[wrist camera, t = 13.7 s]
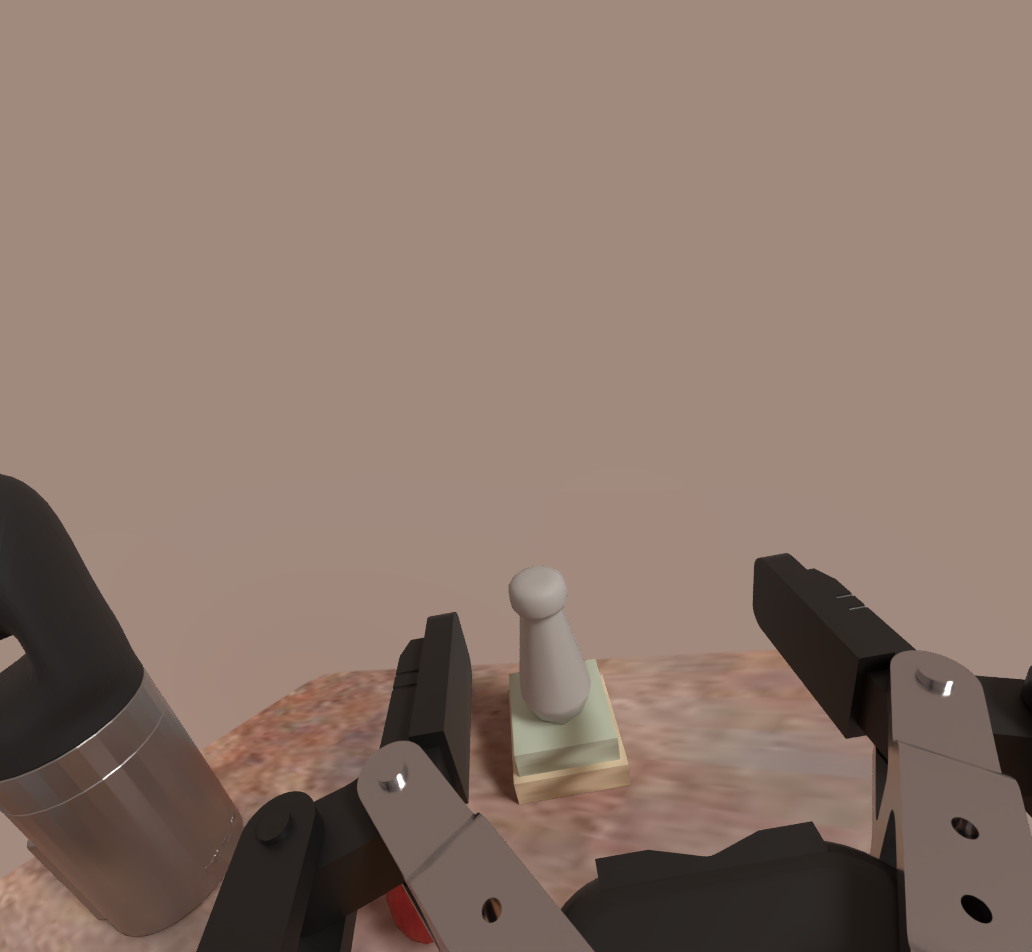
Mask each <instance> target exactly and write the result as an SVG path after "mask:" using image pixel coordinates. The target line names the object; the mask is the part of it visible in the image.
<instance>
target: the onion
mask: <svg viewBox="0 0 1032 952" xmlns="http://www.w3.org/2000/svg"><path fill="white" fill-rule="evenodd" d="M386 895H387V902H388V905H389V908H390V911H391V914H392V917H393V920H394V923H395V924H396V925H397V926H398V927H399V929H400V930H401V931H402V932H403V933H404V934H405V935H406V936H407V937H408V938H409V939H410V940H413V941H416V942H420V943H424V944H429V943H432V942H434V941H433V940H432V938H431V936H430V934H429V932H428V931H427V929H426V927H425V925H424V923H423V922H422V920H421V918H420V916H419V914H418V913H417V911H416V909H415V907H414V905H413V904H412V902H411V900H410V898H409V896H408V895H407V893H406V891H405V889H404V887H403V886H402V884H401V885H399V886H397V887H396V888H394V889H392V890H391V891H389V892H387V893H386Z"/></svg>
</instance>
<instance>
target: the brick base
mask: <svg viewBox="0 0 1032 952" xmlns="http://www.w3.org/2000/svg"><path fill="white" fill-rule="evenodd" d="M584 662H585V664H586V667H587V670H588V673H589V676H590V680H591V686H590V690H589V694H588V698H587V701H586V703H585V705H584V708H583V710H582V712H581V713H580V714H578V715H577V716H575V717H574V718H573V719H571V720H570V721H568V722H567V723H566V724H564V725H562V724H557V723H552V722H546V721H542V720H541V719H540V718H539V717H538V716H537V715H536V714H535V713H534V712H533V711H532V710H531V708H530V707H529V706H528V705H527V703H526V702H525V701H524V700H523V697H522V695H521V689H520V672H518V673H513V674H509V679H510V690H508V692H509V709H510V726H511V743H512V760H513V778H514V787H515V790H516V794H517V798H518V802H519V805H520V804H525V803H531V802H537V801H542V800H548V799H554V798H559V797H565V796H571V795H577V794H582V793H588V792H594V791H599V790H605V789H611V788H616V787H622V786H628V785H631V782H630V773H629V764H628V761H627V757H626V754H625V751H624V747H623V744H622V740H621V737H620V733H619V730H618V727H617V723H616V720H615V716H614V713H613V710H612V706H611V703H610V699H609V696H608V692H607V689H606V686H605V682H604V679H603V675H602V674H599V670H598V667H597V663H596V660H595V659H591V660H585V661H584Z"/></svg>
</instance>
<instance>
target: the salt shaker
mask: <svg viewBox="0 0 1032 952" xmlns="http://www.w3.org/2000/svg"><path fill="white" fill-rule="evenodd" d="M509 597H510V602H511V605H512V608H513V609H514V611H515V612H516V613H517V614H518V615H519V616H520V689H521V695H522V697H523V700H524V701H525V702H526V703H527V705H528V706H529V707H530V708H531V710H532V711H533V712H534V713H535V714H536V715H537V716H538V717H539V718H540V719H541V720H542V721H546V722H552V723H557V724H562V725H564V724H566V723H567V722H568V721H570V720H571V719H573V718H574V717H575V716H577V715H578V714H580V713H581V712H582V710H583V708H584V705H585V703H586V701H587V698H588V694H589V690H590V686H591V680H590V676H589V673H588V670H587V667H586V664H585V662H584V659H583V657H582V654H581V652H580V649H579V646H578V644H577V642H576V639H575V637H574V634H573V631H572V629H571V626H570V624H569V621H568V619H567V616H566V614H565V611H564V609H563V608H564V606H565V603H566V600H567V587H566V584H565V581H564V578H563V576H562V574H561V573H560V572H558V571H557V570H555V569H553V568H550V567H547V566H532V567H529V568H526V569H523V570H522V571H520V572H519V573H518V574H516V575H515V576H514V577H513V578H512V580H511V582H510V584H509Z"/></svg>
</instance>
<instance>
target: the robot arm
mask: <svg viewBox="0 0 1032 952" xmlns="http://www.w3.org/2000/svg"><path fill="white" fill-rule="evenodd" d="M753 610H754V614H755V617H756V620H757V622H758V624H759V626H760V628H761V629H762V631H763V632H764V633H765V634H766V636H767V637H768V638H769V640H770V641H771V642H772V644H773V645H774V646H775V647H776V649H777V650H778V651H779V653H780V654H781V655H782V656H783V658H784V659H785V660H786V662H787V663H788V664H789V666H790V667H791V668H792V669H793V671H794V672H795V673H796V675H797V676H798V677H799V678H800V680H801V681H802V682H803V684H804V685H805V686H806V688H807V689H808V690H809V691H810V693H811V694H812V695H813V697H814V698H815V699H816V701H817V702H818V703H819V704H820V706H821V707H822V708H823V710H824V711H825V712H826V713H827V715H828V716H829V717H830V719H831V720H832V721H833V723H834V724H835V725H836V726H837V728H838V729H839V730H840V732H841V733H842V734H843V735H844V737H845V738H846V739H848V738H853V737H859V736H865V735H867V736H868V738H869V739H870V740H871V741H872V742H873V744H874V749H873V755H872V841H871V850H870V855H869V854H867V853H865V852H863V851H860V850H857V849H854V848H851V847H849V846H845V845H841V844H837V843H833V842H828V841H824V840H823V839H822V837H821V835H820V834H819V832H818V830H817V829H816V827H815V825H814V824H813V822H812V821H811V822H806V823H800V824H794V825H788V826H783V827H777V828H771V829H765V830H759V831H757V832H755V833H753V834H752V835H750V836H748V837H746V838H744V839H742V840H741V841H739V842H737V843H735V844H733V845H731V846H730V847H728V848H726V849H724V850H722V851H720V852H719V853H717V854H715V855H712V856H708V857H706V856H695V855H687V854H679V853H670V852H662V851H654V850H644V851H639V852H633V853H627V854H621V855H616V856H610V857H604V858H598V859H595V861H596V867H597V873H598V878H596V879H595V880H593V881H591V882H589V883H587V884H586V885H585V886H584V887H582V888H581V889H580V890H578V891H577V892H576V893H575V894H574V895H573V896H572V897H571V898H570V899H569V900H568V901H567V902H566V903H565V904H564V906H563V907H562V908H561V910H560V908H559V907H558V906H557V905H556V903H555V902H554V901H553V900H552V899H551V897H550V896H549V895H548V894H547V892H546V891H545V890H544V889H543V887H542V886H541V885H540V884H539V882H538V881H537V880H536V879H535V878H534V876H533V875H532V874H531V873H530V871H529V870H528V869H527V868H526V866H525V865H524V864H523V863H522V862H521V860H520V859H519V858H518V857H517V855H516V854H515V853H514V852H513V850H512V849H511V848H510V847H509V845H508V844H507V843H506V842H505V841H504V839H503V838H502V837H501V836H500V834H499V833H498V832H497V831H496V829H495V828H494V827H493V826H492V825H491V823H490V822H489V821H488V820H487V819H486V818H485V817H484V816H483V815H482V814H480V813H477V814H476V815H475V814H474V813H473V812H472V811H471V810H470V809H469V808H468V807H467V805H466V804H468V797H469V762H470V728H471V694H472V671H471V663H470V657H469V653H468V649H467V646H466V642H465V639H464V635H463V632H462V628H461V624H460V621H459V617H458V615H457V613H456V612H452V613H447V614H441V615H436V616H430V617H428V619H427V624H426V630H425V637H424V638H420V639H414V640H411V641H410V642H409V644H408V645H407V647H406V648H405V650H404V651H403V652H402V654H401V655H400V658H399V662H398V667H397V672H396V677H395V681H394V685H393V691H392V695H391V699H390V704H389V708H388V713H387V718H386V722H385V727H384V732H383V736H382V741H381V745H380V748H379V750H378V751H377V752H375V753H374V754H373V755H372V756H371V757H370V758H369V759H368V761H367V762H366V763H365V765H364V766H363V768H362V770H361V772H360V775H359V777H358V778H357V779H356V780H354V781H353V782H352V783H350V784H348V785H347V786H345V787H343V788H341V789H339V790H337V791H335V792H333V793H331V794H329V795H327V796H325V797H323V798H321V799H319V800H317V801H315V802H313V800H312V798H311V797H310V796H309V795H307V794H306V793H303V792H300V791H293V792H288V793H284V794H282V795H279V796H277V797H275V798H274V799H272V800H270V801H269V802H267V803H266V804H265V805H264V806H262V807H261V808H260V809H259V810H258V811H257V812H256V813H255V814H254V815H253V817H252V818H251V819H250V820H249V822H248V823H247V825H246V826H245V828H244V830H243V821H242V817H241V815H240V813H239V811H238V809H237V808H236V806H235V805H234V803H233V802H232V800H231V798H230V797H229V795H228V794H227V792H226V791H225V789H224V788H223V786H222V785H221V783H220V781H219V780H218V778H217V777H216V775H215V774H214V772H213V771H212V769H211V768H210V766H209V765H208V763H207V762H206V760H205V759H204V757H203V756H202V754H201V753H200V751H199V750H198V748H197V747H196V745H195V744H194V742H193V741H192V739H191V738H190V736H189V735H188V733H187V732H186V730H185V729H184V727H183V726H182V724H181V723H180V721H179V720H178V718H177V717H176V715H175V713H174V712H173V710H172V709H171V707H170V706H169V705H168V703H167V702H166V700H165V699H164V697H163V696H162V694H161V693H160V691H159V690H158V688H157V687H156V685H155V684H154V682H153V681H152V679H151V678H150V676H149V675H148V673H147V672H146V670H145V669H144V667H143V665H142V664H141V662H140V661H139V659H138V658H137V656H136V655H135V653H134V651H133V650H132V648H131V646H130V644H129V642H128V640H127V638H126V636H125V634H124V632H123V630H122V628H121V626H120V624H119V622H118V620H117V619H116V617H115V615H114V614H113V612H112V611H111V609H110V607H109V606H108V604H107V603H106V601H105V599H104V598H103V596H102V594H101V593H100V591H99V589H98V587H97V586H96V584H95V582H94V580H93V579H92V577H91V575H90V573H89V571H88V570H87V568H86V566H85V564H84V562H83V560H82V558H81V557H80V555H79V553H78V551H77V549H76V547H75V546H74V543H73V542H72V540H71V538H70V536H69V535H68V533H67V531H66V530H65V528H64V526H63V525H62V523H61V521H60V520H59V518H58V516H57V515H56V514H55V512H54V511H53V510H52V509H51V507H50V506H49V505H48V503H47V502H46V501H45V500H44V499H43V498H42V497H41V496H40V495H39V494H38V493H37V492H36V491H35V490H34V489H32V488H31V487H30V486H28V485H27V484H25V483H24V482H22V481H20V480H17V479H15V478H13V477H10V476H6V475H2V474H0V640H1V639H4V638H7V637H9V636H12V635H14V636H15V637H16V638H17V639H18V641H19V642H20V644H21V646H22V647H23V649H24V650H25V653H26V654H25V655H23V656H22V657H21V658H20V659H19V660H18V661H16V662H15V663H13V664H12V665H11V666H9V667H8V668H6V669H5V670H4V671H2V672H1V673H0V811H1V812H2V813H4V814H5V815H6V816H7V817H8V818H9V819H10V820H11V822H12V823H13V824H14V825H15V826H16V827H17V828H18V829H19V830H20V831H22V833H23V834H24V835H25V836H26V837H27V838H28V839H29V840H28V842H27V848H28V849H29V851H30V852H31V853H32V854H33V855H34V856H35V857H36V858H37V859H38V860H39V861H40V862H41V863H42V864H43V865H44V866H45V867H46V868H47V869H48V870H49V871H50V872H51V873H52V874H53V875H54V876H55V877H56V878H57V879H58V880H59V881H60V882H61V883H62V884H63V885H64V886H65V887H66V888H67V889H68V890H69V891H70V892H71V893H72V894H73V895H74V896H75V897H76V898H77V899H78V900H79V901H80V902H81V903H82V904H83V905H84V906H85V907H86V908H87V909H89V910H90V911H91V912H92V913H93V914H94V915H95V916H96V917H97V918H98V919H99V920H103V919H107V920H108V921H109V922H110V923H111V924H112V925H113V926H114V927H115V928H116V929H117V930H118V931H120V932H121V933H123V934H124V935H127V936H134V937H139V936H145V935H150V934H153V933H155V932H158V931H161V930H163V929H165V928H167V927H169V926H170V925H172V924H174V923H175V922H177V921H179V920H180V919H182V918H183V917H184V916H186V915H187V914H188V913H189V912H191V911H192V910H193V909H195V908H196V907H197V906H198V905H199V904H200V903H201V902H202V901H203V900H204V899H205V898H206V897H207V896H208V895H209V894H210V893H211V892H212V890H213V889H214V888H215V887H216V886H217V884H218V883H219V882H220V881H221V879H222V878H223V876H224V875H225V873H226V875H225V878H224V880H223V883H222V886H221V888H220V891H219V893H218V896H217V899H216V901H215V904H214V907H213V909H212V912H211V915H210V917H209V920H208V922H207V925H206V928H205V930H204V933H203V936H202V938H201V941H200V944H199V946H198V949H197V952H351V948H352V941H353V934H354V928H355V921H356V914H357V910H358V909H360V908H361V907H363V906H365V905H366V904H368V903H370V902H372V901H373V900H375V899H377V898H378V897H380V896H382V895H384V894H385V893H387V892H389V891H391V890H392V889H394V888H396V887H397V886H399V885H401V884H402V886H403V887H404V889H405V891H406V893H407V895H408V896H409V898H410V900H411V902H412V904H413V905H414V907H415V909H416V911H417V913H418V914H419V916H420V918H421V920H422V922H423V923H424V925H425V927H426V929H427V931H428V932H429V934H430V936H431V938H432V940H433V941H434V943H435V945H436V947H437V949H438V950H439V952H1032V836H1031V832H1030V828H1029V824H1028V820H1027V816H1026V812H1027V813H1028V814H1029V815H1030V816H1031V817H1032V666H1031V667H1030V668H1029V670H1028V673H1027V676H1026V679H1025V680H1022V679H1009V678H998V677H984V676H975V675H974V674H973V673H972V672H970V671H969V670H968V669H967V668H965V667H964V666H962V665H961V664H959V663H957V662H956V661H954V660H951V659H949V658H947V657H945V656H942V655H939V654H935V653H931V652H926V651H917V650H916V649H914V648H913V647H912V646H911V645H910V644H909V643H907V641H905V640H904V639H903V638H902V637H901V636H900V635H899V634H897V633H896V632H895V631H894V630H893V629H892V628H890V627H889V626H888V625H887V624H886V623H885V622H884V621H883V620H881V619H880V618H879V617H878V616H877V615H876V614H875V613H874V612H872V611H871V610H870V609H869V608H868V607H867V608H866V607H865V606H864V604H863V603H862V602H861V601H860V600H859V599H857V598H856V597H855V596H852V594H851V592H850V591H849V590H847V589H846V588H845V587H844V586H843V585H842V584H841V583H839V582H838V581H837V580H836V579H834V578H832V577H830V576H828V575H826V574H824V573H822V572H820V571H818V570H816V569H809V570H807V569H806V568H804V567H803V566H802V565H801V564H800V563H799V562H798V561H797V560H796V559H795V558H794V557H792V556H791V555H790V554H788V553H784V554H778V555H773V556H767V557H762V558H758V559H756V561H755V564H754V584H753Z"/></svg>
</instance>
